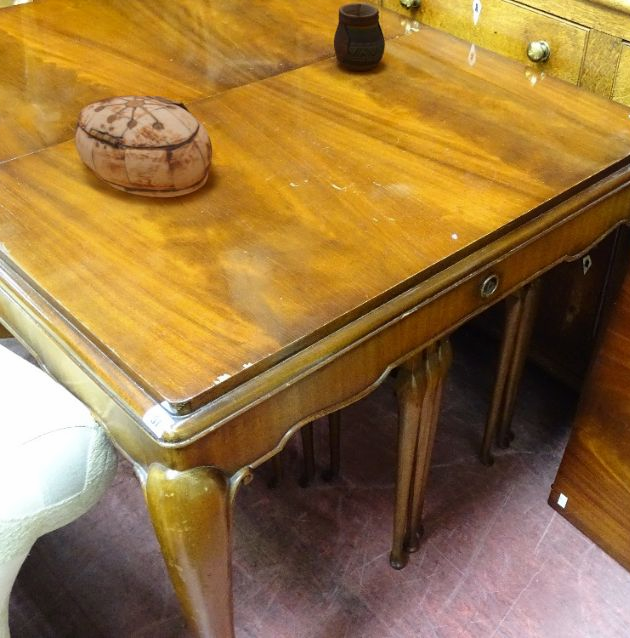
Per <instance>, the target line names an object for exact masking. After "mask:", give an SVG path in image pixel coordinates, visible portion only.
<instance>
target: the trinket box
mask: <svg viewBox="0 0 630 638" xmlns="http://www.w3.org/2000/svg"><path fill="white" fill-rule="evenodd" d="M74 130H75V131H74V144H75V145H74V146H75V149H76V152H77V154H78V157H79V159H80V160H81V161H82V163H83V164H84V166H85V167H86V168H87V169H88V170H89V171H90V172H91V173H93V175H95V176H96V178H98V179H99V180H101V181H102V182H104V183H105V184H107V185H109V186H111V187H112V188H115V189H116V190H119V191H122V192H126V193H128V194H131V195H132V194H133V195H136V196H137V195H138V196H144V197H152V198H172V197H180V196H184V195H187V194H191V193H193V192H195V191H197V190H199V189H200V188H202V187H203V186H204V185H205V184H206V182H207V181H208V177H209V170H210V168H211V166H212V163H213V162H212V161H213V146H212V140H211V138H210V135H209V132H208V130H206V127H205V126H204V125H203V124H202V122H201V121H199V119H197V118H196V117H195V116H193V115H192V114H191V112H190V110H189V109H188V107H187V106H186V105H185V104H184V103H183V102H182V101H178V100H176V99H173V98H169V97H164V96H158V95H155V96H153V95H145V96H143V95H119V96H112V97H107V98H104V99H101V100H97V101H95V102H92V103H90V104H88V105H86V106H85V107H83V108H82V109H81V110H80V112H79V113H78V115H77V123H76V126H75V129H74Z"/></svg>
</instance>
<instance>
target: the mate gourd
mask: <svg viewBox="0 0 630 638" xmlns="http://www.w3.org/2000/svg"><path fill="white" fill-rule="evenodd" d="M335 29H336V30H335V32H334V37H333V48H334V49H333V50H334V53H335V54H334V55H335V57H336V60H337V62H338V63H339V64H340V65H341V66H343V67H345V68H346V69H348V70H349V71H353V72H365V71H370V70H372V69H374V68H375V67H377V66H378V65H379V64H380V62H381V61H382V59H383V56H384V53H385V49H386V42H385V37H384V36H385V35H384V33H383V30H382V26H381V24H380V11H379V8H377V7H376V6H374V5H372V4H368V3H364V2H353V3H352V2H351V3H346V4H344V5H342V6H340V7H339V8H338V22H337V26H336V28H335Z"/></svg>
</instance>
